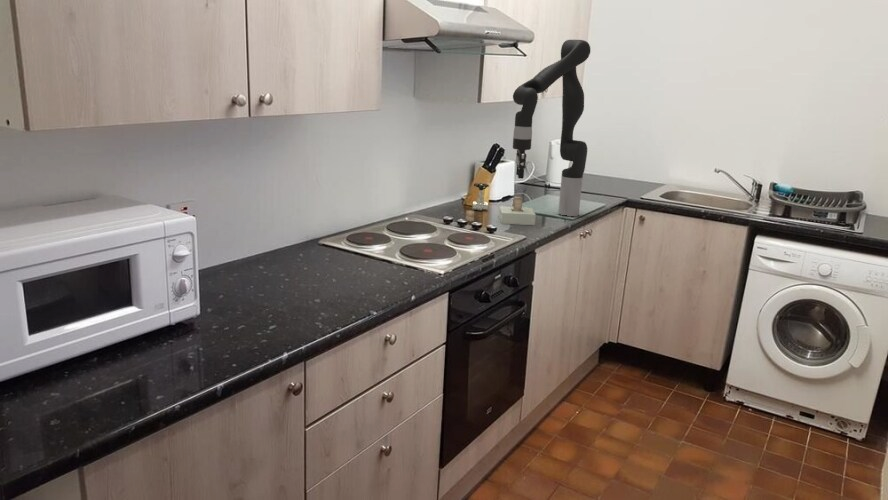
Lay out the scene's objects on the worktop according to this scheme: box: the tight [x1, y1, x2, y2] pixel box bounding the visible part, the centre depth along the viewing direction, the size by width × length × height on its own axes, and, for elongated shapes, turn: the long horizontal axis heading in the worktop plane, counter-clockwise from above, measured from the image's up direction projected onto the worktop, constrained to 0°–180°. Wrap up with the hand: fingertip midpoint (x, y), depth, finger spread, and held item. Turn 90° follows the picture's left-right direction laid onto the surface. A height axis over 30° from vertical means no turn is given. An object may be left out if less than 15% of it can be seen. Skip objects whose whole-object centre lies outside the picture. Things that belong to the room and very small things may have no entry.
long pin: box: [512, 196, 523, 212], centre depth 274 cm, size 4×4×10 cm
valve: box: [472, 182, 490, 212], centre depth 292 cm, size 7×7×12 cm
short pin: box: [465, 209, 475, 223], centre depth 272 cm, size 4×4×4 cm
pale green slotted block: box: [498, 205, 537, 226], centre depth 275 cm, size 14×14×4 cm
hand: (519, 176), depth 271 cm, fingers open, 8 cm apart
